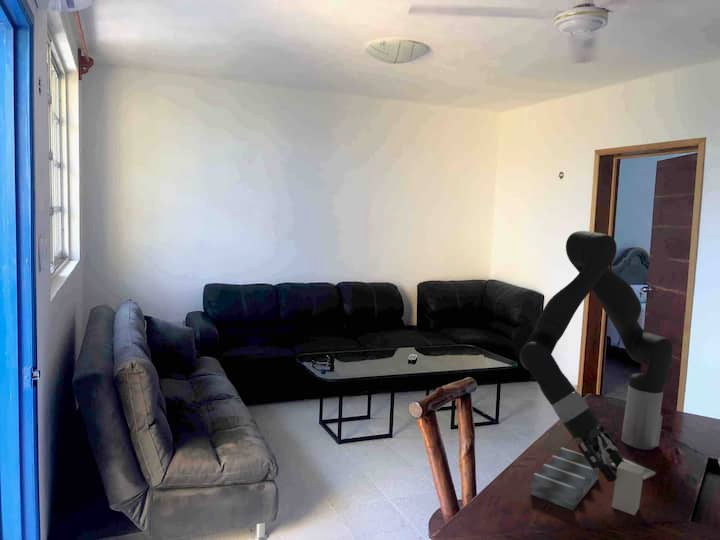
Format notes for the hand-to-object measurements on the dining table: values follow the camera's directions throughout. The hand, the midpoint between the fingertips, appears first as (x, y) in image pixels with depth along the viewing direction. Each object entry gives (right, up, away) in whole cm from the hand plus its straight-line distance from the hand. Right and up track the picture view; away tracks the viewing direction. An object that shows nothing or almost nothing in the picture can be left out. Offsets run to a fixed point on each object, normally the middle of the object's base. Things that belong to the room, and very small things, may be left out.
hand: (618, 474), depth 138 cm
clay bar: (+2, -8, 0) cm, 8 cm away
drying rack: (-10, -6, +8) cm, 14 cm away
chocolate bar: (+10, -5, +23) cm, 25 cm away
